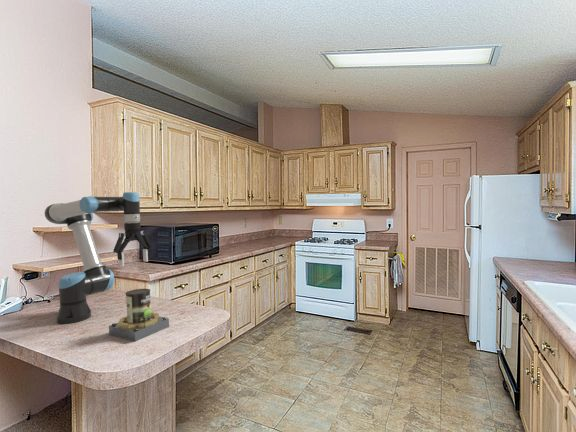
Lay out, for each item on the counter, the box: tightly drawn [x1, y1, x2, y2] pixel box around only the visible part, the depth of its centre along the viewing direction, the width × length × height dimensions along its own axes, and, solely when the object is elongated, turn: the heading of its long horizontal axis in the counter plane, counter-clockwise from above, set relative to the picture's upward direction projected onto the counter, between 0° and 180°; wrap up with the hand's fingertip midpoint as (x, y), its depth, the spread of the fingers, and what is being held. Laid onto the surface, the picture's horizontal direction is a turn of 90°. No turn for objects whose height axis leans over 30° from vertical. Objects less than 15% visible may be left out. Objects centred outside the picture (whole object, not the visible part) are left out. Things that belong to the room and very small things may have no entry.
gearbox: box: [108, 311, 170, 342], centre depth 150 cm, size 18×18×6 cm
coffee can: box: [125, 288, 152, 324], centre depth 150 cm, size 10×10×14 cm
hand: (134, 263), depth 167 cm, fingers open, 13 cm apart
